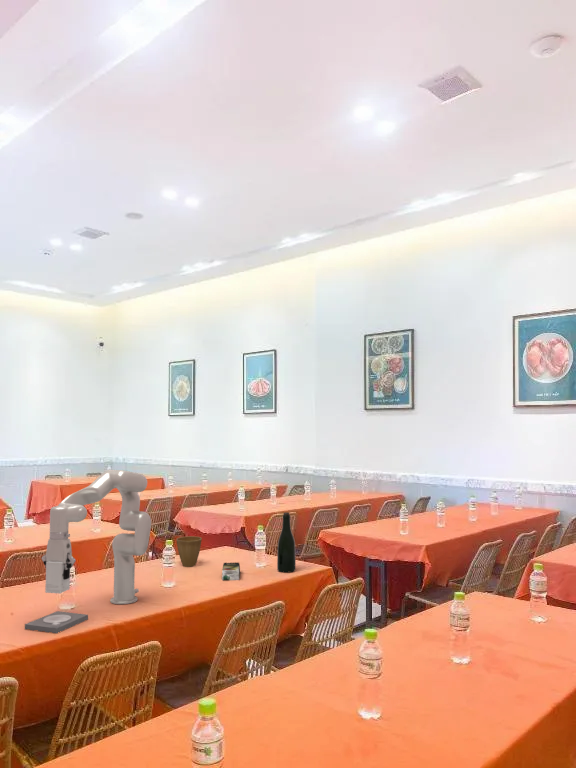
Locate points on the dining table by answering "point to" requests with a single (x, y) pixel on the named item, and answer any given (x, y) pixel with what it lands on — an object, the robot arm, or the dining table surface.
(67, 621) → the mount plate
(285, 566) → the beer bottle
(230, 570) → the juice carton
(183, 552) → the plant pot
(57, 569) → the supplement box
